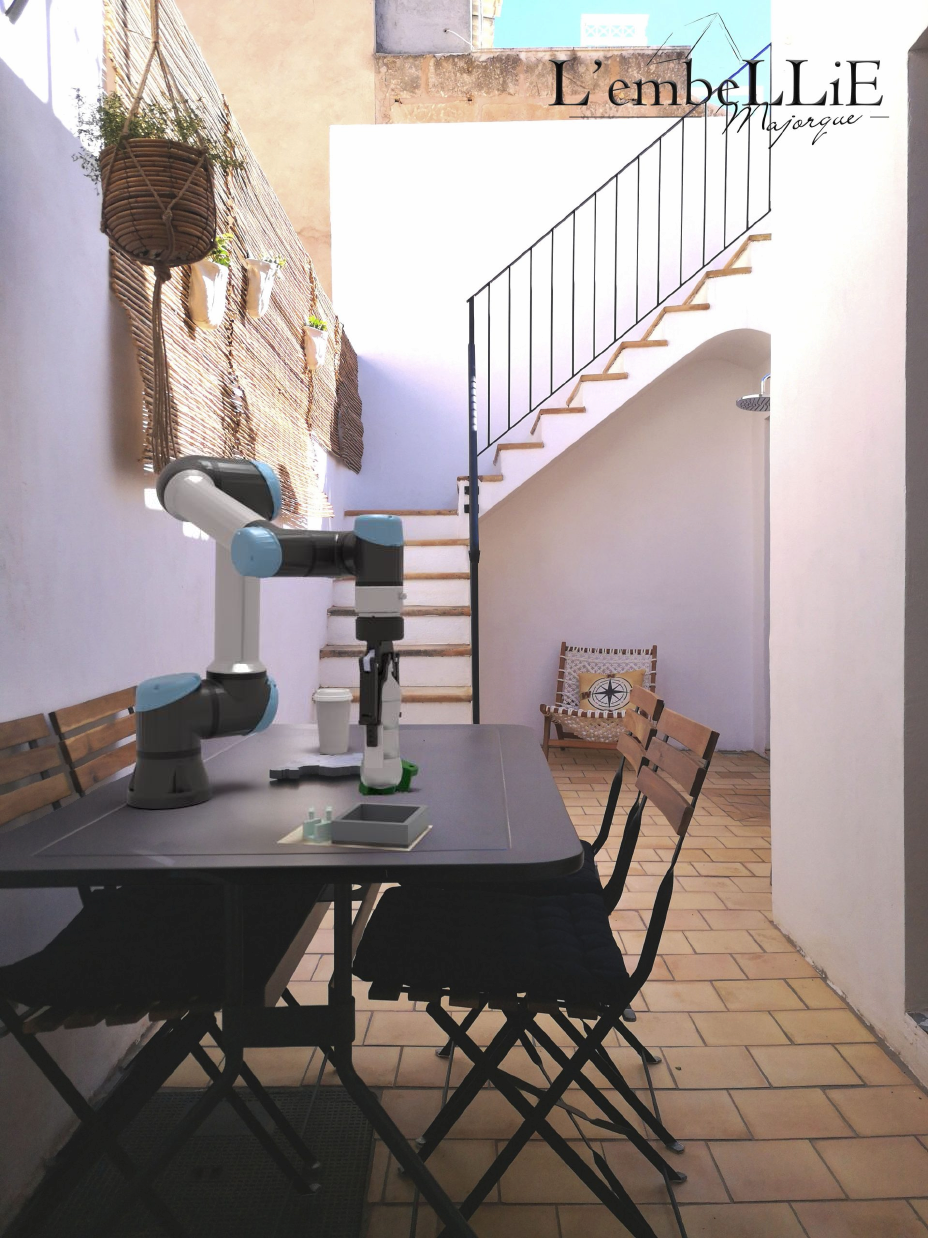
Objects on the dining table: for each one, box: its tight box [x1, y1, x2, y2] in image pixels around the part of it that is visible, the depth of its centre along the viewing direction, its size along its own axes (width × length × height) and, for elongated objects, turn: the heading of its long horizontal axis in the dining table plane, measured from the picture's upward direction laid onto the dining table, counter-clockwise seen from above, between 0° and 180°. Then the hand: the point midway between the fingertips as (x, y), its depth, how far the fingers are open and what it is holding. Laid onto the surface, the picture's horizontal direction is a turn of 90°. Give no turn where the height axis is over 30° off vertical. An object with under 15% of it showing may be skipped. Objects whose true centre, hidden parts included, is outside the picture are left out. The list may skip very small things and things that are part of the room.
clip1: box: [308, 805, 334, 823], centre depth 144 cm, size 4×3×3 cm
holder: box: [331, 801, 429, 848], centre depth 138 cm, size 12×12×4 cm
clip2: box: [302, 817, 332, 844], centre depth 136 cm, size 4×3×3 cm
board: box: [276, 824, 433, 852], centre depth 139 cm, size 21×14×1 cm, turn 78°
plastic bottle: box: [359, 660, 403, 789], centre depth 138 cm, size 6×7×20 cm
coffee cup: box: [313, 687, 354, 755], centre depth 214 cm, size 10×10×15 cm
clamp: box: [358, 758, 419, 796], centre depth 171 cm, size 12×6×9 cm, turn 142°
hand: (381, 762), depth 138 cm, fingers closed on plastic bottle, 6 cm apart
